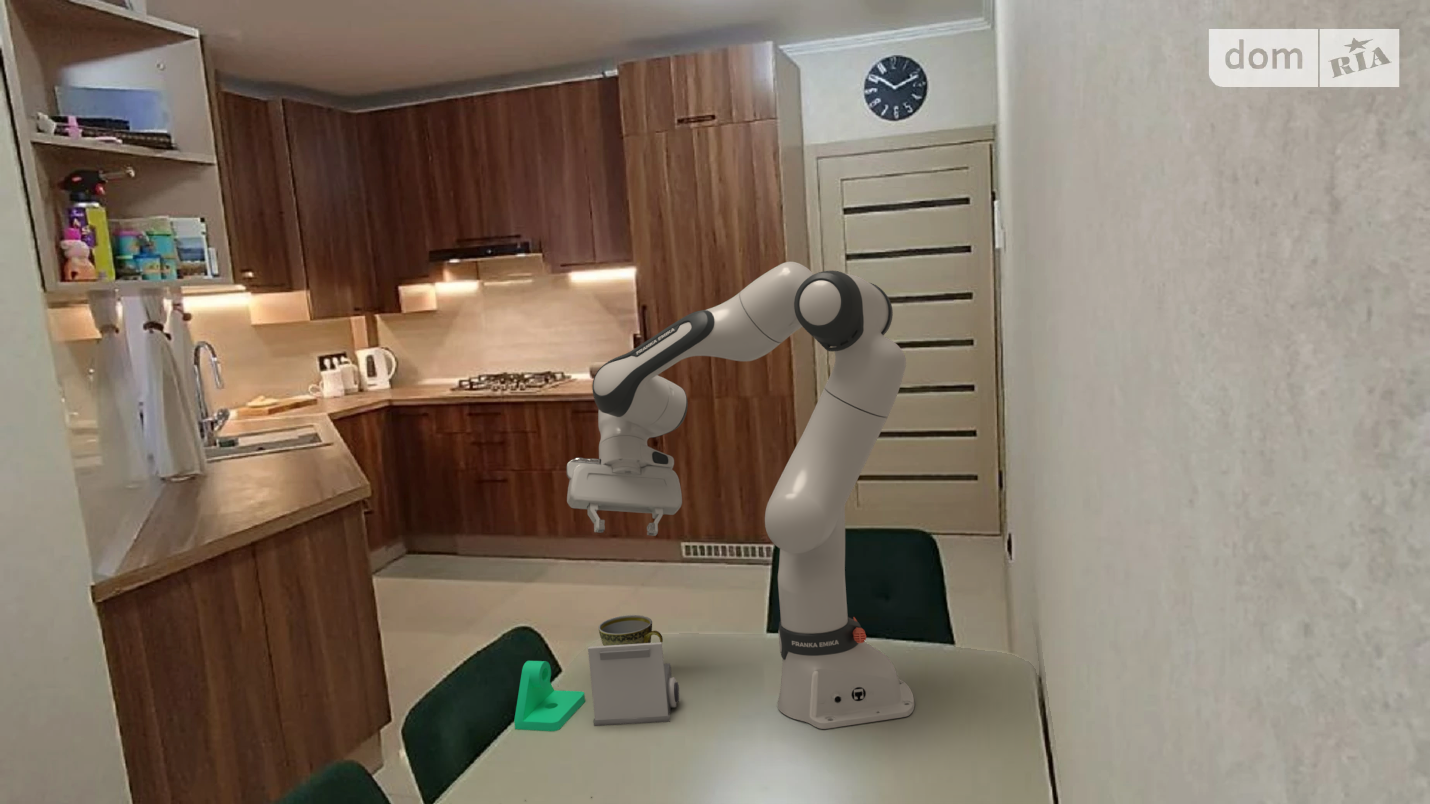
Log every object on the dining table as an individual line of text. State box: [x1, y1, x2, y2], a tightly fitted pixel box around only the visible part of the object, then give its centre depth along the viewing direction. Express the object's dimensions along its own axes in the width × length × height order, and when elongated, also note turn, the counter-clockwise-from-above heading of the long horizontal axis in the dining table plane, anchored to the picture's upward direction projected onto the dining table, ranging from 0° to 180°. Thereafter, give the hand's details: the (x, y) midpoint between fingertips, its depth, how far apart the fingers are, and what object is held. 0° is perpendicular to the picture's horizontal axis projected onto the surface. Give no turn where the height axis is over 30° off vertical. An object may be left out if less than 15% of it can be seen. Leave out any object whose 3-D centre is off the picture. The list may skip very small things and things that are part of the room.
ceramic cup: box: [598, 614, 664, 646], centre depth 171 cm, size 13×10×10 cm
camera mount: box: [513, 660, 586, 732], centre depth 156 cm, size 12×8×10 cm, turn 164°
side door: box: [587, 641, 671, 727], centre depth 150 cm, size 12×2×13 cm, turn 88°
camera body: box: [664, 662, 680, 715], centre depth 155 cm, size 13×8×7 cm, turn 88°
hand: (626, 532), depth 159 cm, fingers open, 8 cm apart
